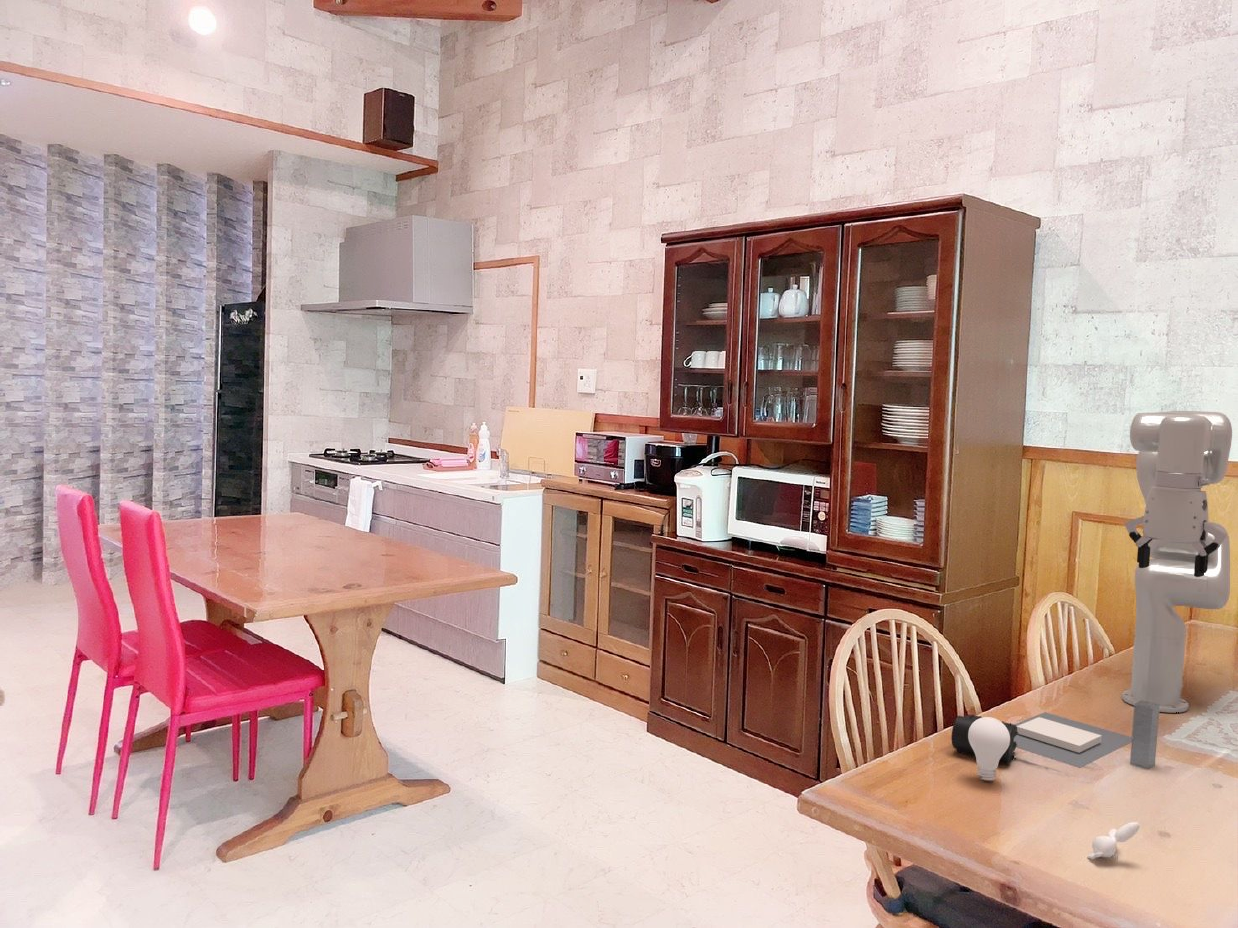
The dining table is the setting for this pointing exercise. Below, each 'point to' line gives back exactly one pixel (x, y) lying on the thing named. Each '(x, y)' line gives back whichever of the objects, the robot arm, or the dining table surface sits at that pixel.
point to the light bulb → (988, 745)
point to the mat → (1107, 745)
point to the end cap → (962, 741)
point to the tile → (1059, 734)
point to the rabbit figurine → (1113, 840)
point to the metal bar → (1144, 734)
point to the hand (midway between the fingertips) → (1170, 571)
